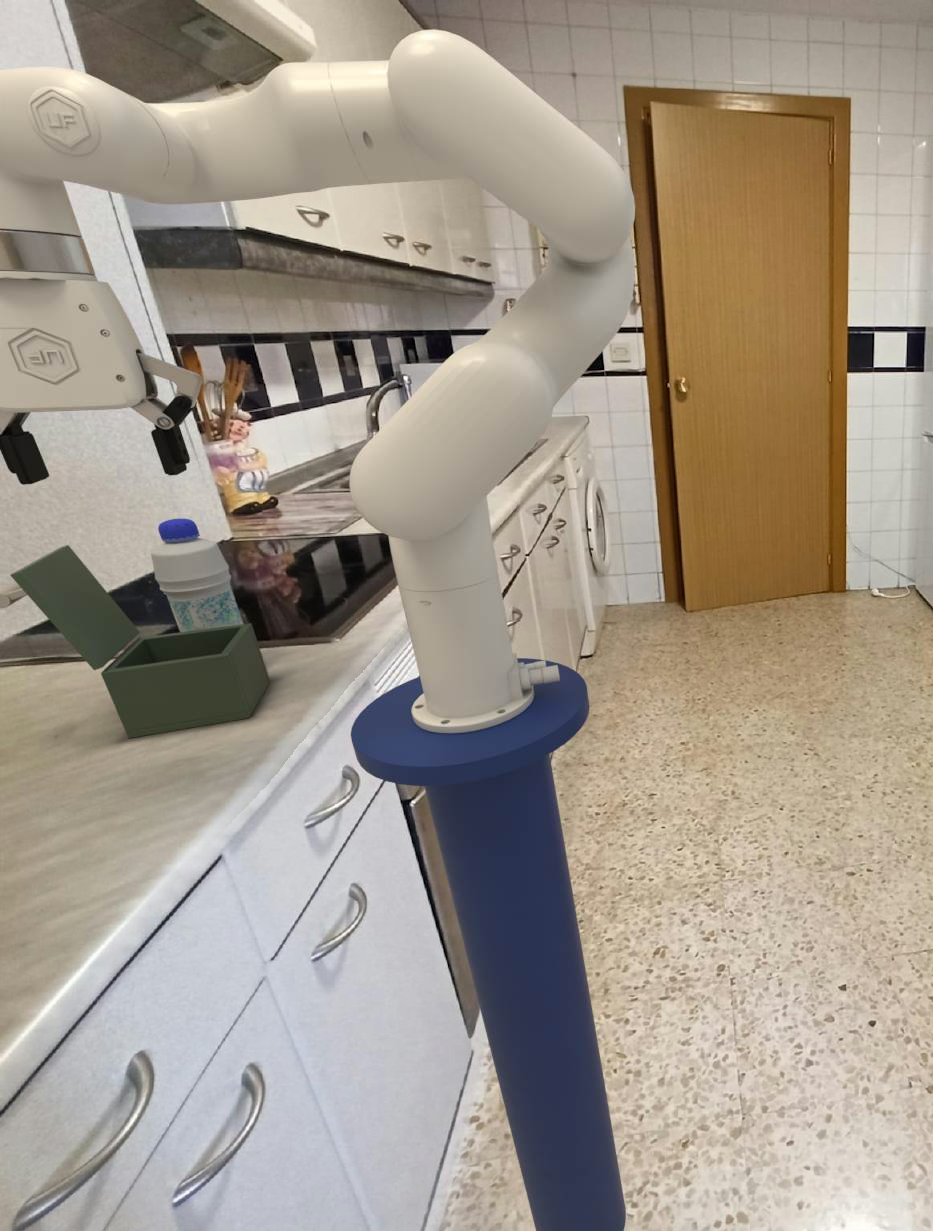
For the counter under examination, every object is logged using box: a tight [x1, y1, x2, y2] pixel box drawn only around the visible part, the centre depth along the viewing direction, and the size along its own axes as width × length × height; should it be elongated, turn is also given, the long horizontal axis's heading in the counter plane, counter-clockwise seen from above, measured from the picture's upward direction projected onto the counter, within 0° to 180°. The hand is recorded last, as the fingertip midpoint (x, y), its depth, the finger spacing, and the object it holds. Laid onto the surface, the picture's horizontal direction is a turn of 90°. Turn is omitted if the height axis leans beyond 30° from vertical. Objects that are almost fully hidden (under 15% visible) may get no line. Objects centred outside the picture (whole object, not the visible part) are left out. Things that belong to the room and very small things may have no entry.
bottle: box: [150, 518, 244, 632], centre depth 85 cm, size 7×7×20 cm
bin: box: [100, 622, 271, 739], centre depth 80 cm, size 11×10×8 cm
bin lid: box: [0, 544, 141, 671], centre depth 73 cm, size 11×10×5 cm
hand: (108, 476), depth 63 cm, fingers open, 9 cm apart
